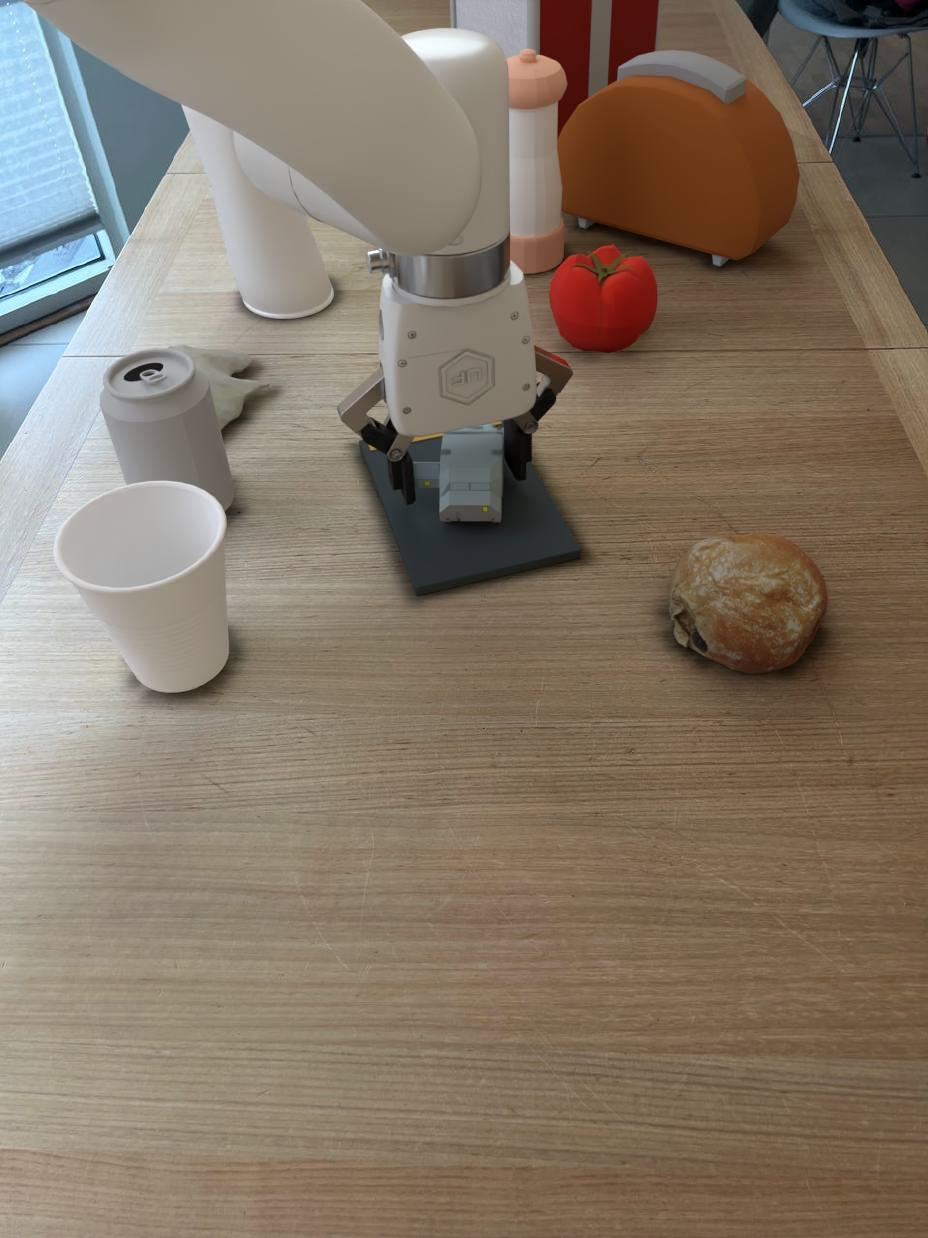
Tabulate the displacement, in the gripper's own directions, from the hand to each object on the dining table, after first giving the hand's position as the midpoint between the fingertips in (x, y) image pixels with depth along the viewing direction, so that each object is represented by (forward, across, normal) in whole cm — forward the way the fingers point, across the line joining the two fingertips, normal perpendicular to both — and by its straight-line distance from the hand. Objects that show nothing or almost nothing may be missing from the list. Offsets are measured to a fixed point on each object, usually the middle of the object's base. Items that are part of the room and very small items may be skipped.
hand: (461, 480), depth 79 cm
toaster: (+2, +32, +35) cm, 48 cm away
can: (+2, -20, +6) cm, 21 cm away
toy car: (+1, 0, 0) cm, 1 cm away
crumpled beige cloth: (+2, -18, +19) cm, 26 cm away
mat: (+2, 0, 0) cm, 2 cm away
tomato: (+2, +18, +18) cm, 26 cm away
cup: (+2, -22, -10) cm, 24 cm away
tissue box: (+2, +29, +61) cm, 68 cm away
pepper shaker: (+2, +17, +35) cm, 39 cm away
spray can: (+2, -8, +37) cm, 38 cm away
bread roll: (+2, +14, -18) cm, 23 cm away
